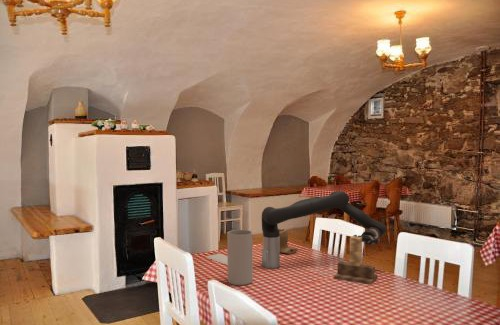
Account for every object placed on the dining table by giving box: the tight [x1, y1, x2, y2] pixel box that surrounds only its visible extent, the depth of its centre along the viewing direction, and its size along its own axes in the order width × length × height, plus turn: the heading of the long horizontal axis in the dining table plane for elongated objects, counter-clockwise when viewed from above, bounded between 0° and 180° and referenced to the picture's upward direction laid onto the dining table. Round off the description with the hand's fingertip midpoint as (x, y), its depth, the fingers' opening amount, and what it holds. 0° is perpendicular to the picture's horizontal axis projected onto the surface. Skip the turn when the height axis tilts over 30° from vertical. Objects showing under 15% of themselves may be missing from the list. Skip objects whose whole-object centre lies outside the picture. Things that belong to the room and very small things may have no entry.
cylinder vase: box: [226, 229, 254, 286], centre depth 224 cm, size 12×12×25 cm
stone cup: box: [278, 228, 299, 255], centre depth 282 cm, size 15×12×15 cm
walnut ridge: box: [333, 261, 378, 285], centre depth 229 cm, size 19×12×7 cm, turn 60°
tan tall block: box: [348, 235, 363, 266], centre depth 229 cm, size 5×5×14 cm
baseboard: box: [204, 252, 228, 266], centre depth 262 cm, size 31×3×12 cm
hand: (361, 241), depth 238 cm, fingers open, 8 cm apart
